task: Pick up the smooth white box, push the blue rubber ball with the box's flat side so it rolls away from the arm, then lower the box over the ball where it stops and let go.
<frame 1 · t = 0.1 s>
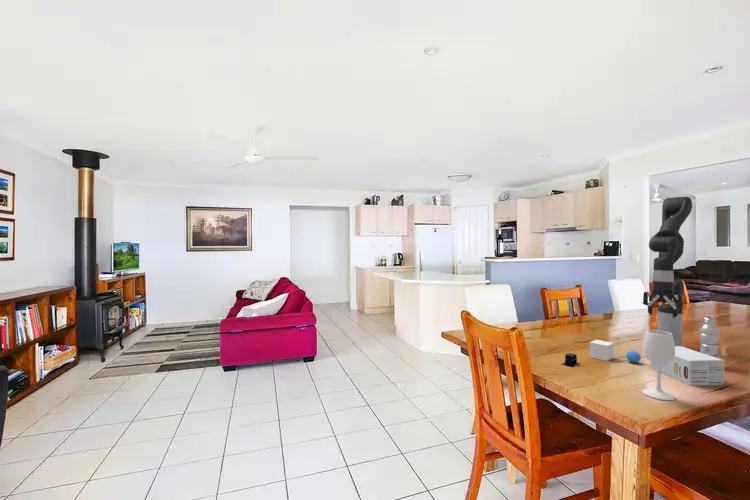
hand: (662, 315, 163), 17 cm above the table, tool pointing down, fingers open, 8 cm apart
smooth white box: (601, 357, 158), on the table
ball: (633, 356, 151), on the table
supplement box: (685, 377, 136), on the table
wineglass: (658, 395, 119), on the table
plastic bottle: (708, 366, 146), on the table
black screwed bracket block: (570, 365, 150), on the table
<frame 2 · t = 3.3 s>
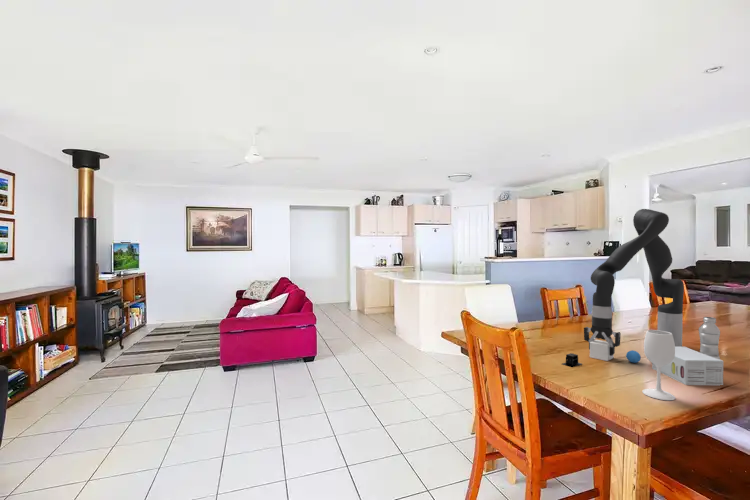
hand: (601, 353, 158), 2 cm above the table, tool pointing down, fingers closed on smooth white box, 7 cm apart
smooth white box: (601, 357, 158), on the table, touching gripper
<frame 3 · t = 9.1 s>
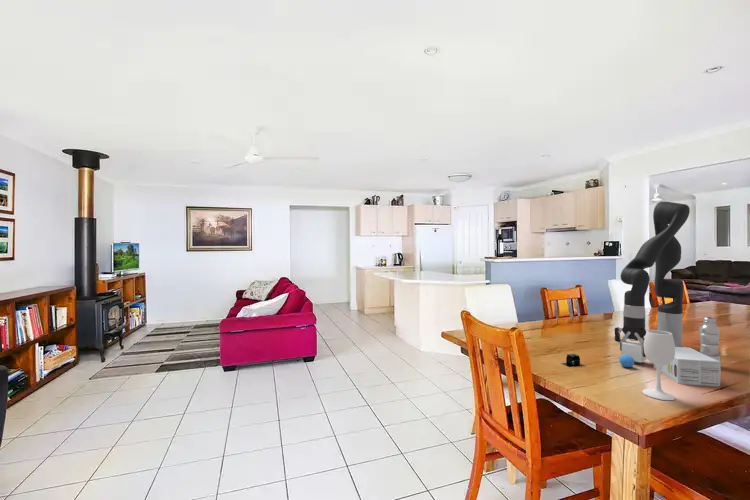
hand: (633, 354, 152), 3 cm above the table, tool pointing down, fingers closed on smooth white box, 7 cm apart
smooth white box: (633, 358, 152), point 1 cm above the table, touching gripper
ball: (626, 361, 146), on the table
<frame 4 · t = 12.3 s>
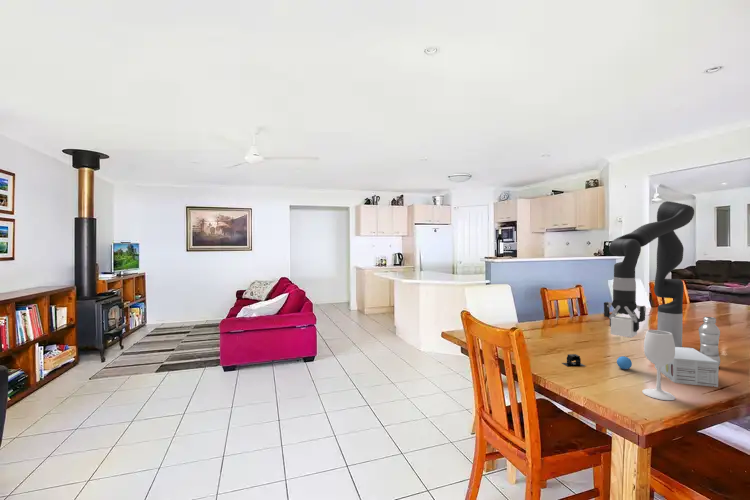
hand: (623, 329, 144), 16 cm above the table, tool pointing down, fingers closed on smooth white box, 7 cm apart
smooth white box: (623, 334, 144), point 14 cm above the table, touching gripper
ball: (624, 362, 144), on the table
when the fingers open (2 cm above the table, at t = 15.4 s): smooth white box stays where it is, on the table.
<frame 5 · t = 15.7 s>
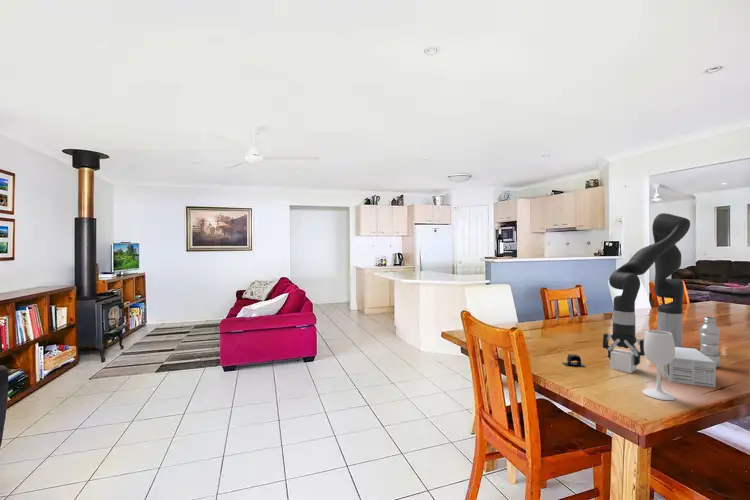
hand: (623, 362, 144), 3 cm above the table, tool pointing down, fingers open, 8 cm apart
smooth white box: (623, 368, 144), on the table
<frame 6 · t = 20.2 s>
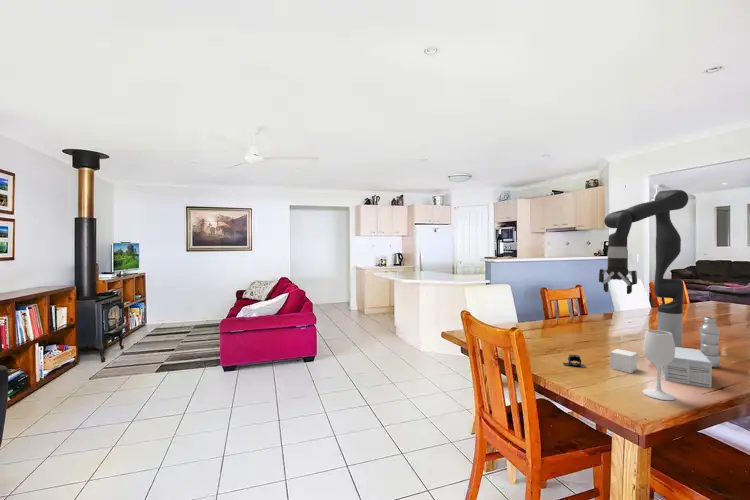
hand: (617, 292, 161), 28 cm above the table, tool pointing down, fingers open, 8 cm apart
at the end: ball 0.3 cm from the smooth white box (horizontally); smooth white box on the table; ball moved 12.1 cm from its start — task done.
